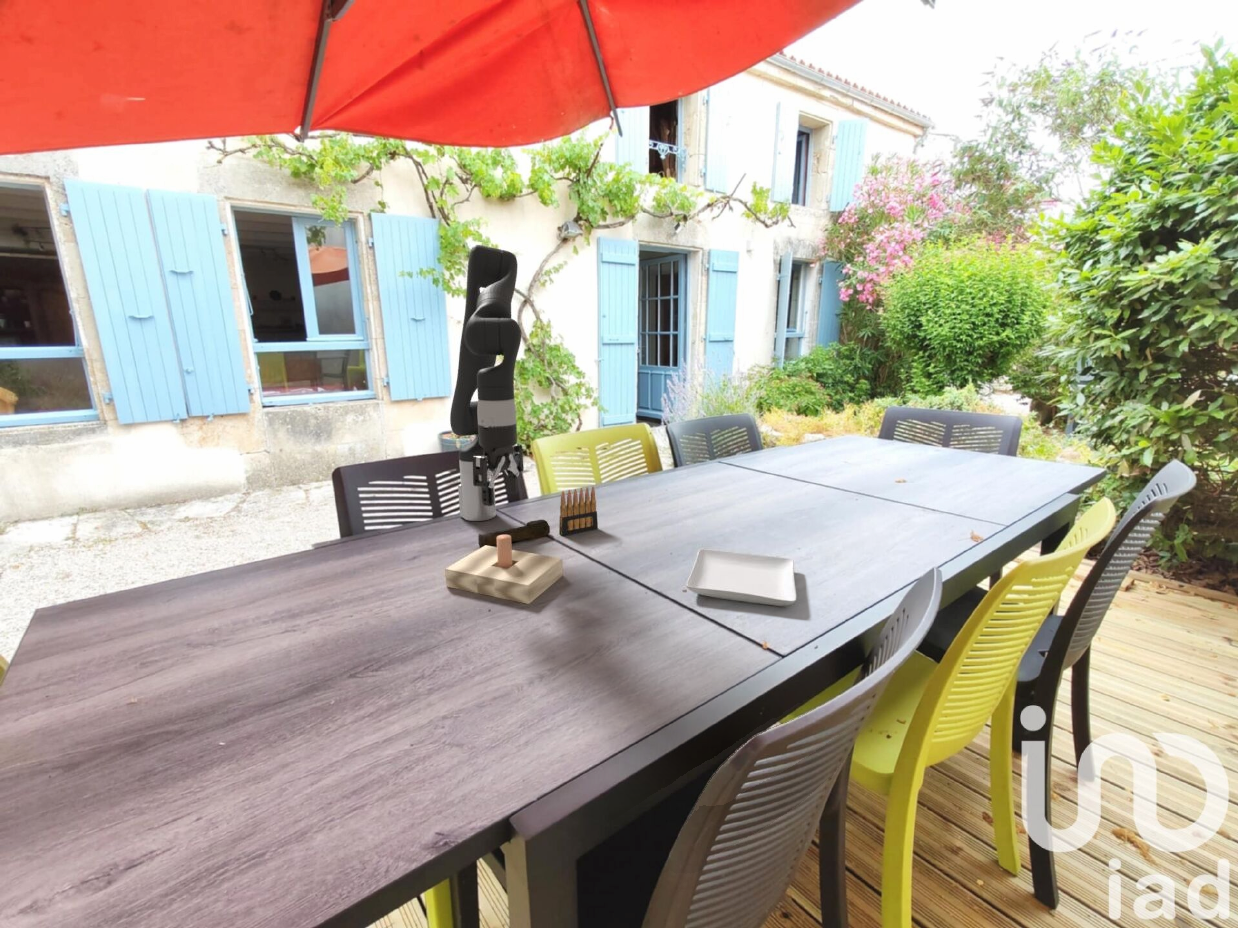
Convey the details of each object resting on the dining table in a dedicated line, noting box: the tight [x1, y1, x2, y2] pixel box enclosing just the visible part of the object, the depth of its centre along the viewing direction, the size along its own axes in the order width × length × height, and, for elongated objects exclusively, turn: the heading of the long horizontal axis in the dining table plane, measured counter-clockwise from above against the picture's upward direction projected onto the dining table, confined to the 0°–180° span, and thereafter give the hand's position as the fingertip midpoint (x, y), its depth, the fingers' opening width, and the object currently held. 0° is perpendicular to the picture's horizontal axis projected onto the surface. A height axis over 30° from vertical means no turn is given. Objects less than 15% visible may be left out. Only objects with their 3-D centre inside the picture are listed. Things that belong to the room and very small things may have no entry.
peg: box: [496, 535, 513, 569], centre depth 116 cm, size 3×3×10 cm
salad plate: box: [685, 548, 798, 607], centre depth 115 cm, size 21×21×3 cm
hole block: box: [444, 545, 564, 605], centre depth 116 cm, size 20×14×4 cm
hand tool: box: [477, 519, 551, 549], centre depth 138 cm, size 19×4×5 cm, turn 122°
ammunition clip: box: [558, 485, 599, 537], centre depth 145 cm, size 11×2×12 cm, turn 121°
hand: (500, 499), depth 113 cm, fingers open, 8 cm apart
